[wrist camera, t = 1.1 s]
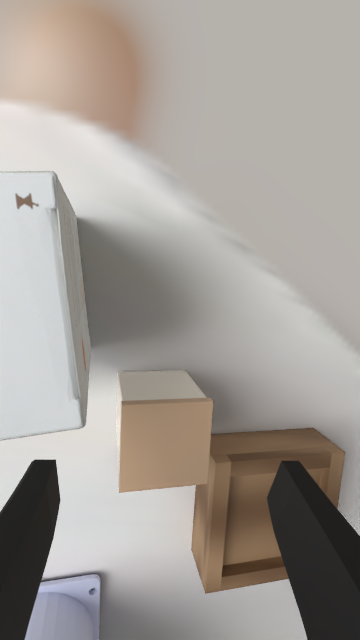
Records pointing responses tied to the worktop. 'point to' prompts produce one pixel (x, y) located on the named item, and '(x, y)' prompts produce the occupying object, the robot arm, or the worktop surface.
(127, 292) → the worktop surface
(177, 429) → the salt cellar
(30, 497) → the robot arm
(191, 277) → the worktop surface
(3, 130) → the worktop surface
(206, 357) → the worktop surface
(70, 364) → the small box
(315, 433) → the wooden square tray
